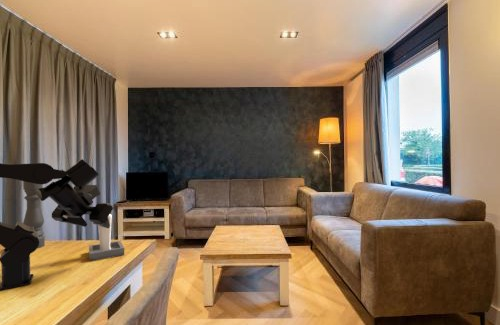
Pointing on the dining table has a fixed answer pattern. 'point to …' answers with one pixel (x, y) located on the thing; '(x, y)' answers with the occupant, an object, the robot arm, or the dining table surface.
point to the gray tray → (106, 251)
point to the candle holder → (34, 209)
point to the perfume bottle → (105, 236)
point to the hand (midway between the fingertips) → (97, 226)
